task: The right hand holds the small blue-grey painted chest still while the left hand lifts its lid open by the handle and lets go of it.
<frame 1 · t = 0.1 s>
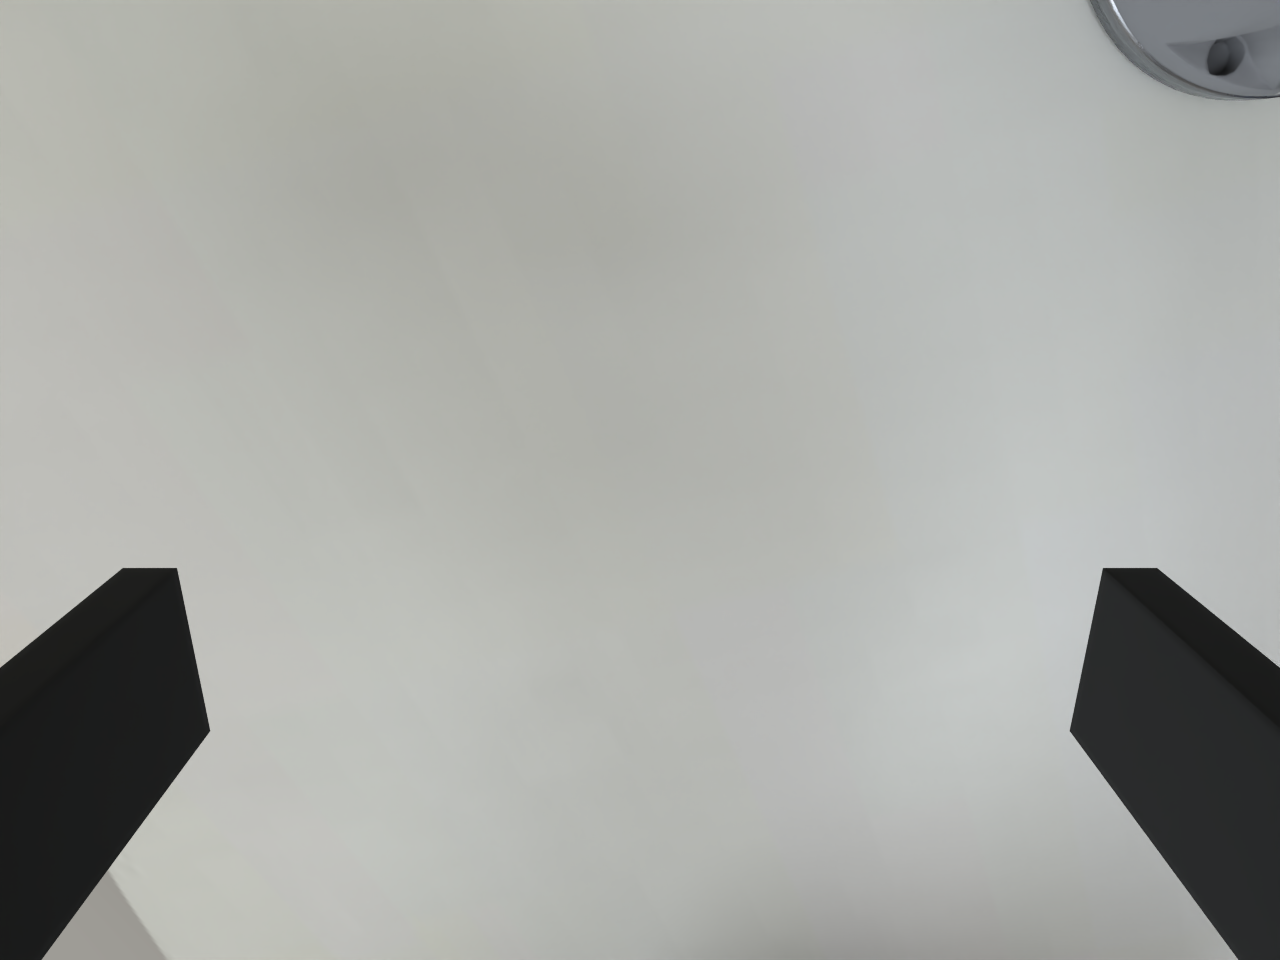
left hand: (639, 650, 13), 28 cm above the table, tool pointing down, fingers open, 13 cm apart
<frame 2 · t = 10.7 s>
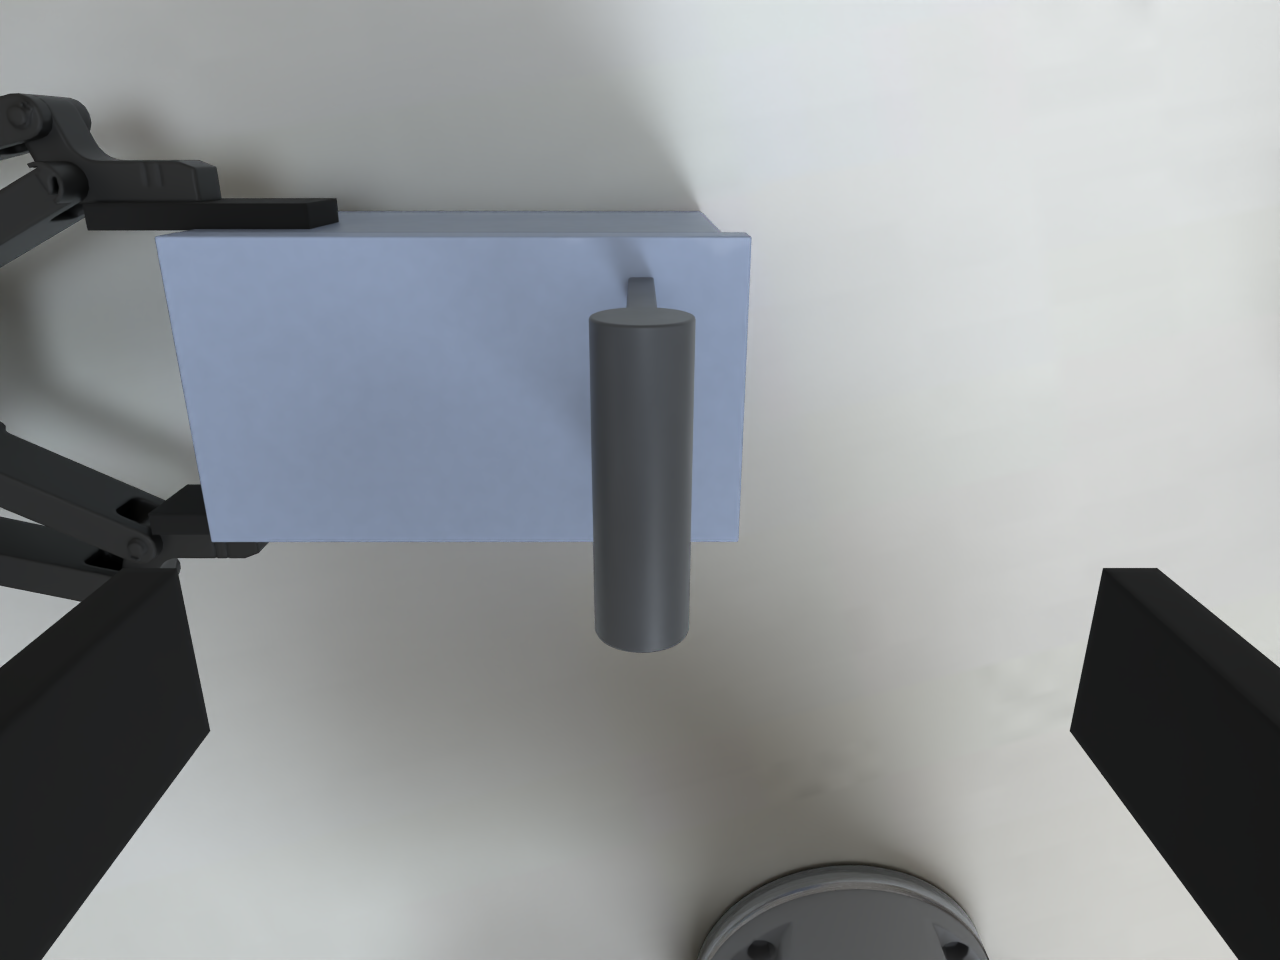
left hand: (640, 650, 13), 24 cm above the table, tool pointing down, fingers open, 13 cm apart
chest: (503, 330, 35), on the table, touching right hand
lid: (440, 434, 22), point 13 cm above the table, hinge at 0.0°
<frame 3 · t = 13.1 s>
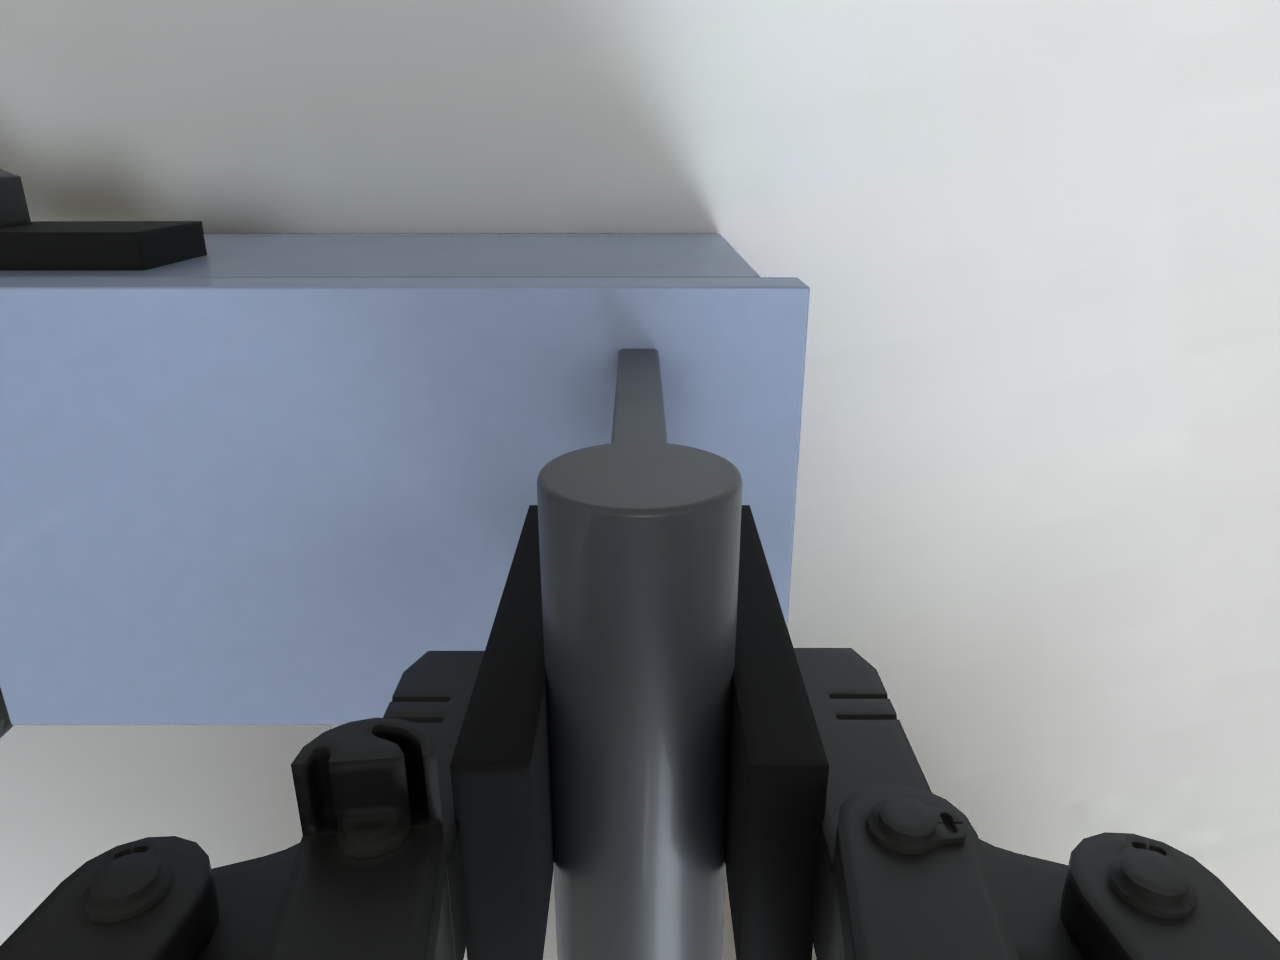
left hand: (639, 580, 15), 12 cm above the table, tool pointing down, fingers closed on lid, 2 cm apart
chest: (457, 390, 26), on the table, touching right hand
lid: (313, 612, 14), point 13 cm above the table, hinge at 0.0°, touching left hand
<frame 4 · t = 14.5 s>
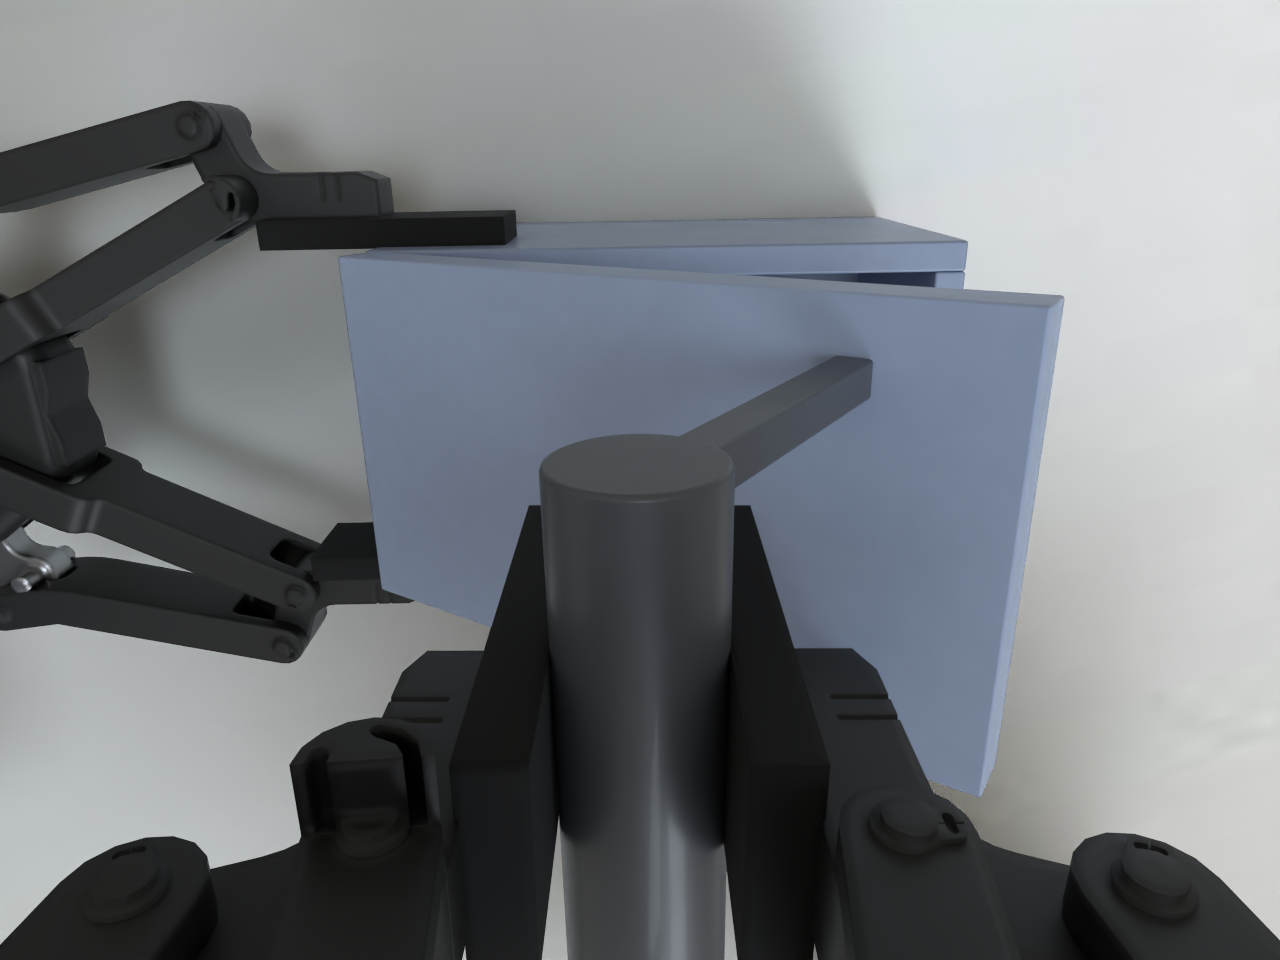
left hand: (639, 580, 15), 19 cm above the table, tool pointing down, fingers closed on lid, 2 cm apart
right hand: (521, 396, 26), fingers closed on chest, 9 cm apart
chest: (659, 348, 32), on the table, touching right hand
lid: (512, 546, 16), point 17 cm above the table, hinge at 33.4°, touching left hand
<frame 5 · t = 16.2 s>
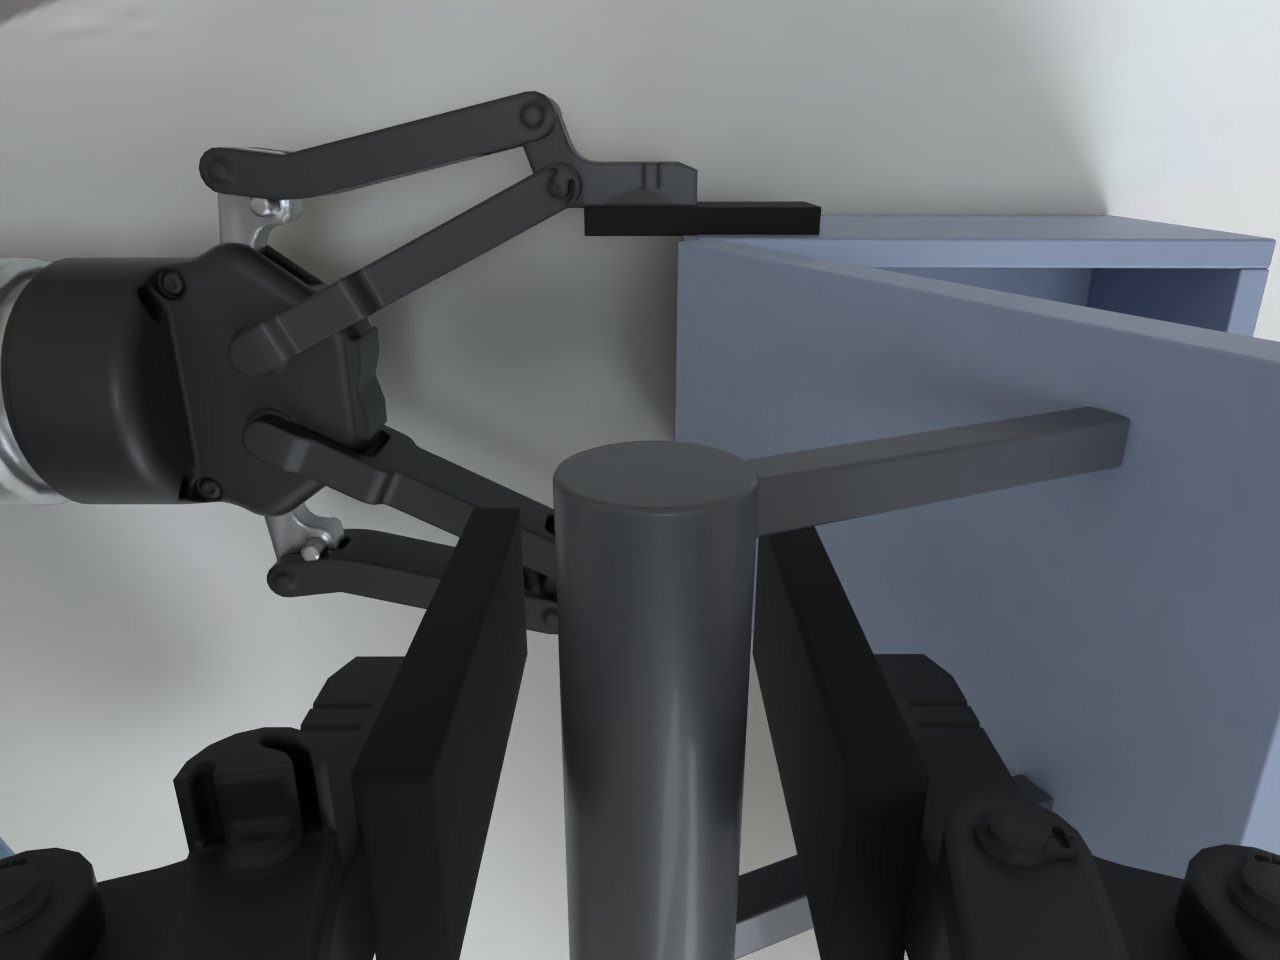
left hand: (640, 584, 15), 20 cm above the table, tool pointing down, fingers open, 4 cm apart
right hand: (800, 381, 27), fingers closed on chest, 9 cm apart
chest: (885, 339, 33), on the table, touching right hand
lid: (706, 542, 16), point 18 cm above the table, hinge at 65.3°
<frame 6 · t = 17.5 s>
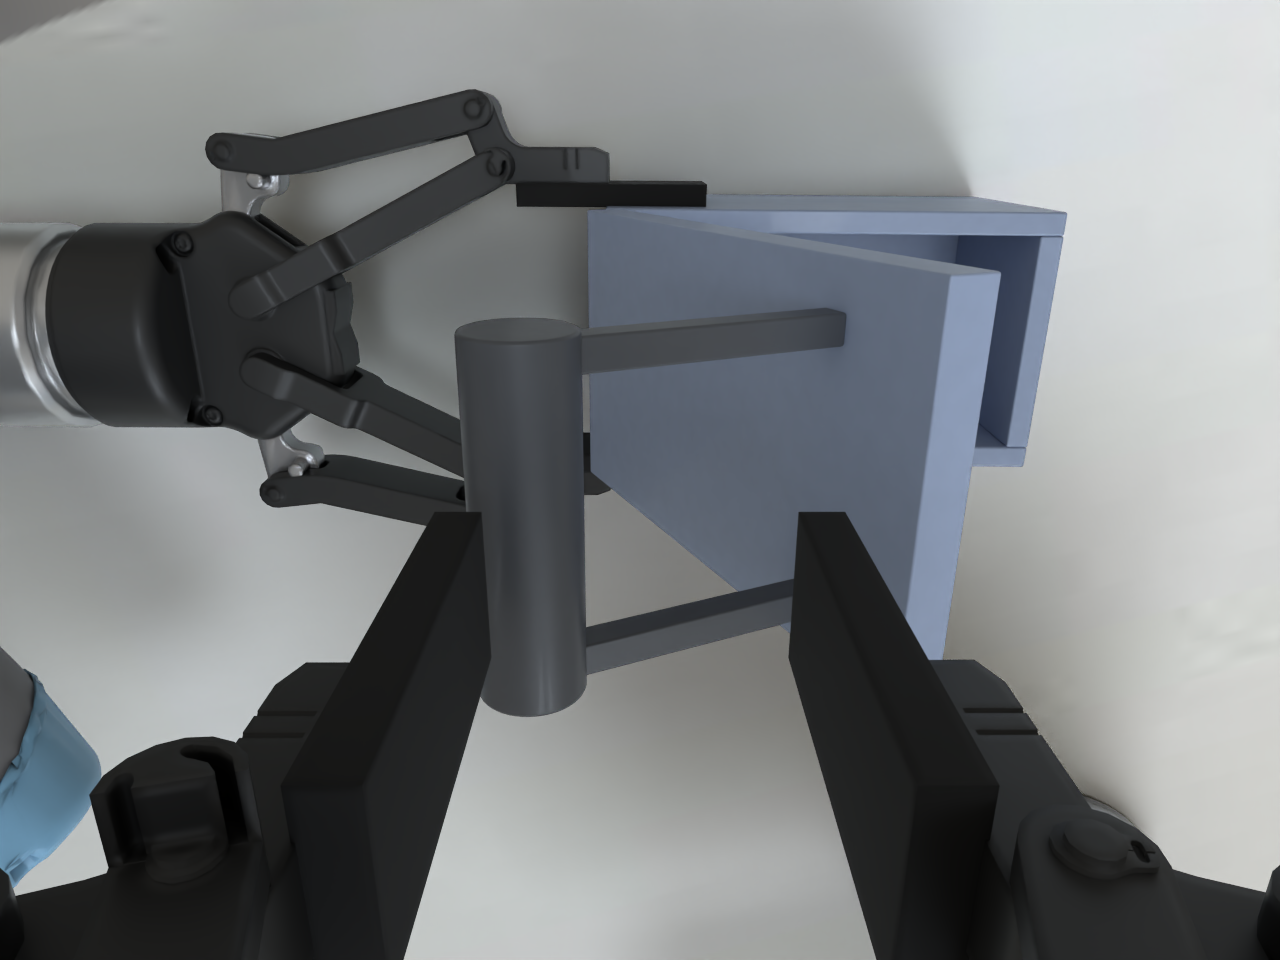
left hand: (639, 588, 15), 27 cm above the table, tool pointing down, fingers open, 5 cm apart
right hand: (699, 329, 33), fingers closed on chest, 9 cm apart
chest: (787, 301, 39), on the table, touching right hand
lid: (590, 423, 22), point 18 cm above the table, hinge at 63.7°
when the right hand's fingers open (7 cm above the table, at t = 20.0 s): chest stays where it is, on the table.
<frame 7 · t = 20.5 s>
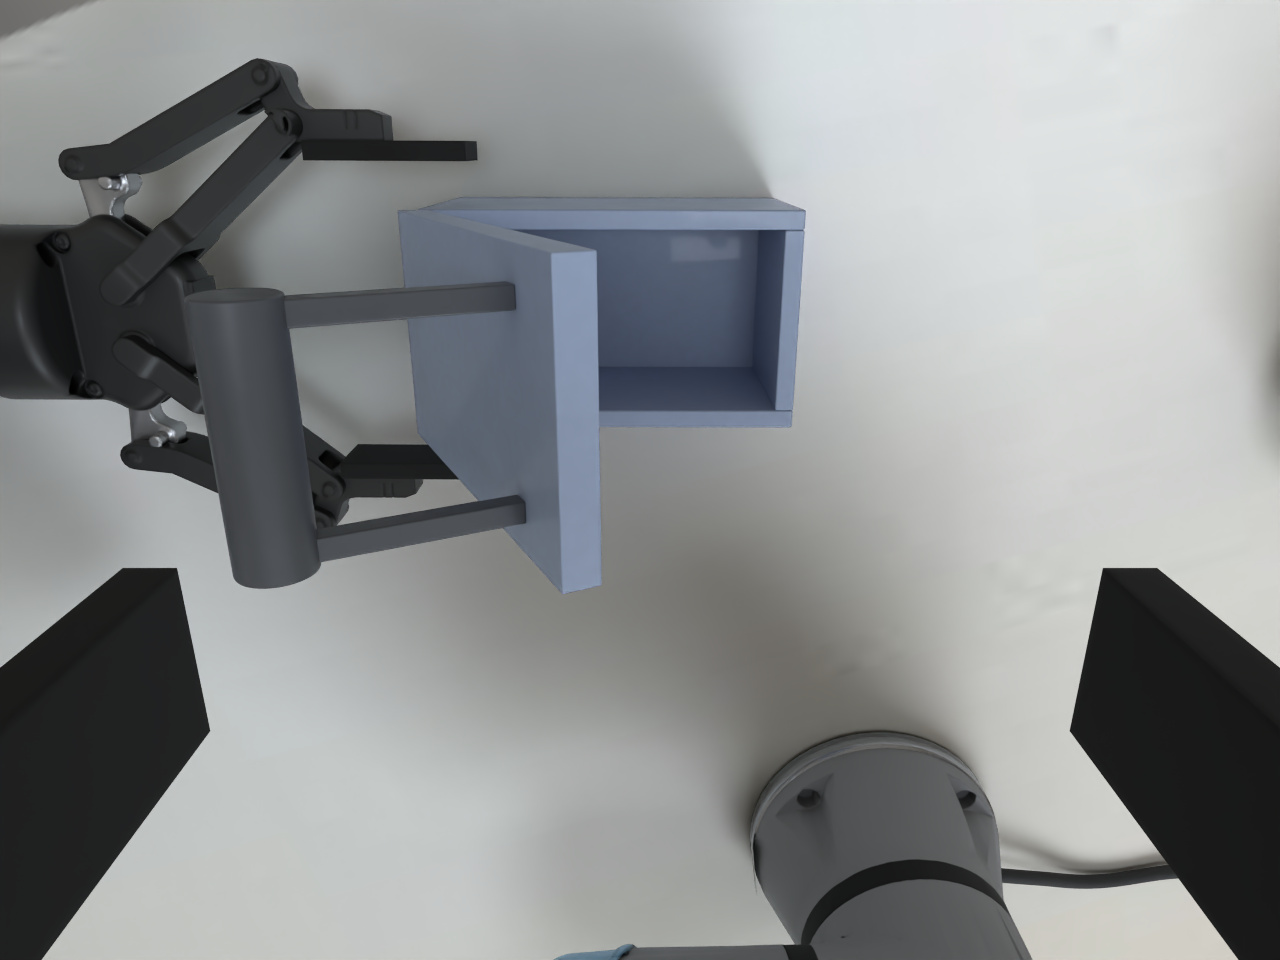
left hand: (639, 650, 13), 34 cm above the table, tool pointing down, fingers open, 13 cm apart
right hand: (482, 315, 39), fingers open, 13 cm apart
chest: (617, 290, 45), on the table
lid: (361, 380, 28), point 19 cm above the table, hinge at 63.2°
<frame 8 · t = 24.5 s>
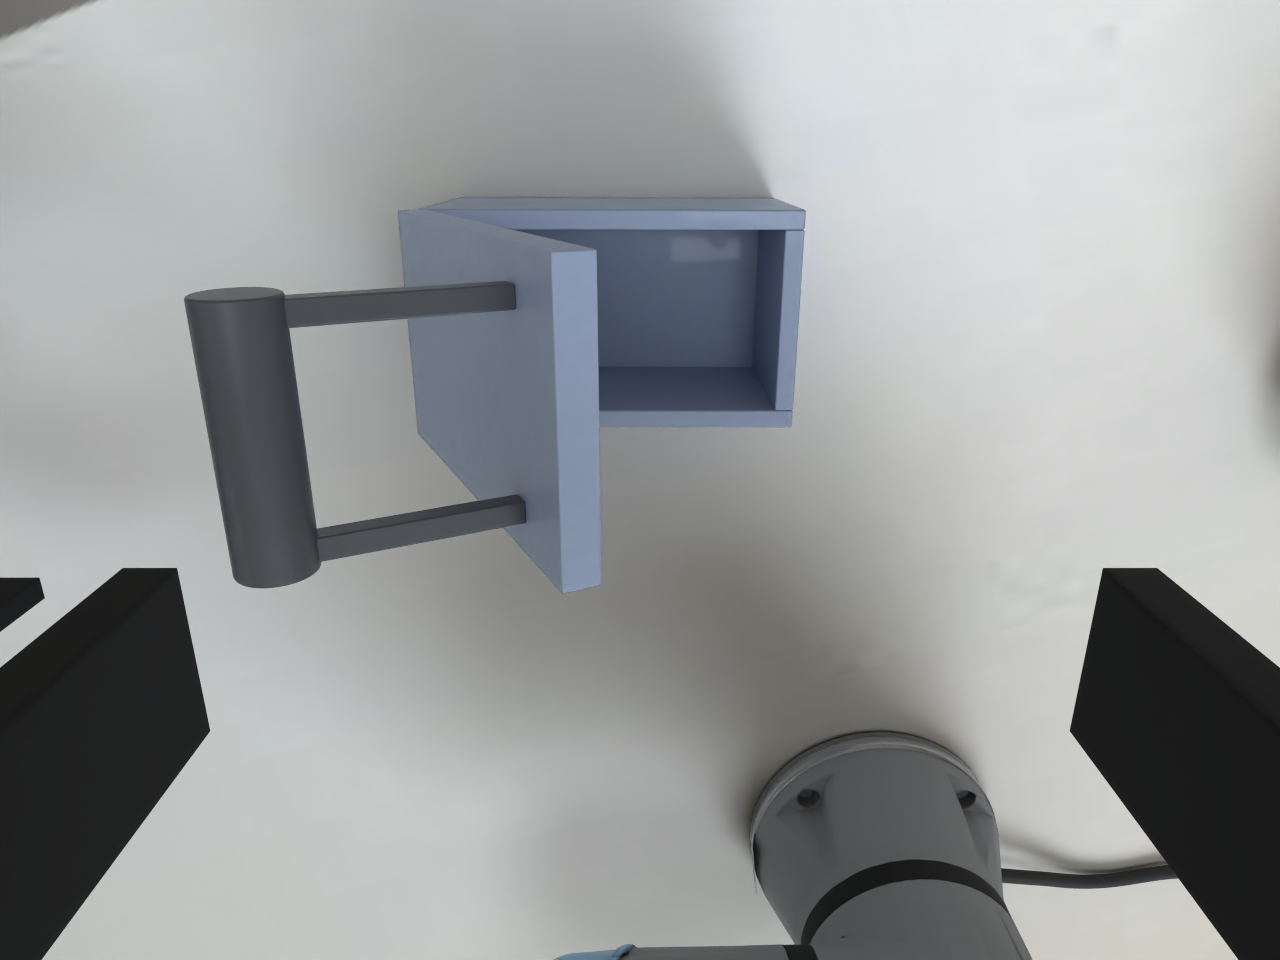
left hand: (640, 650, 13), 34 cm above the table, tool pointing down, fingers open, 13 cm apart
chest: (617, 290, 45), on the table
lid: (361, 379, 28), point 19 cm above the table, hinge at 63.2°
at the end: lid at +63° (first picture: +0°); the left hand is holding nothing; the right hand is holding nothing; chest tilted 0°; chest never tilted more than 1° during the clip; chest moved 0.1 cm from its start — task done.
